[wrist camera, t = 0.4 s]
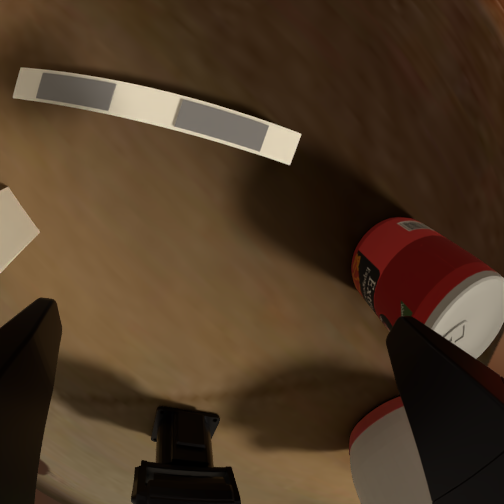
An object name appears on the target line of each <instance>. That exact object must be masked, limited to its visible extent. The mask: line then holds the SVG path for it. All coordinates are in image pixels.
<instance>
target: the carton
mask: <svg viewBox="0 0 504 504" xmlns="http://www.w3.org/2000/svg"><path fill="white" fill-rule="evenodd" d="M39 233H40V231H39V230H38V228H37V227H36V226H35V224H34V223H33V222H32V220H31V219H30V217H29V216H28V215H27V213H26V212H25V210H24V209H23V208H22V206H21V205H20V203H19V202H18V200H17V199H16V197H15V196H14V194H13V193H12V191H11V190H10V188H9V187H6V188H4V189H2V190H0V273H1V272H2V271H3V270H4V269H5V268H6V267H7V266H8V265H9V264H10V263H11V261H12V260H13V259H14V258H15V257H16V256H17V255H18V254H19V253H20V252H21V251H22V250H23V249H24V248H25V247H26V246H27V245H28V244H29V243H30V242H31V241H32V240H33V239H34V238H35V237H36V236H37V235H38V234H39Z"/></svg>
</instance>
